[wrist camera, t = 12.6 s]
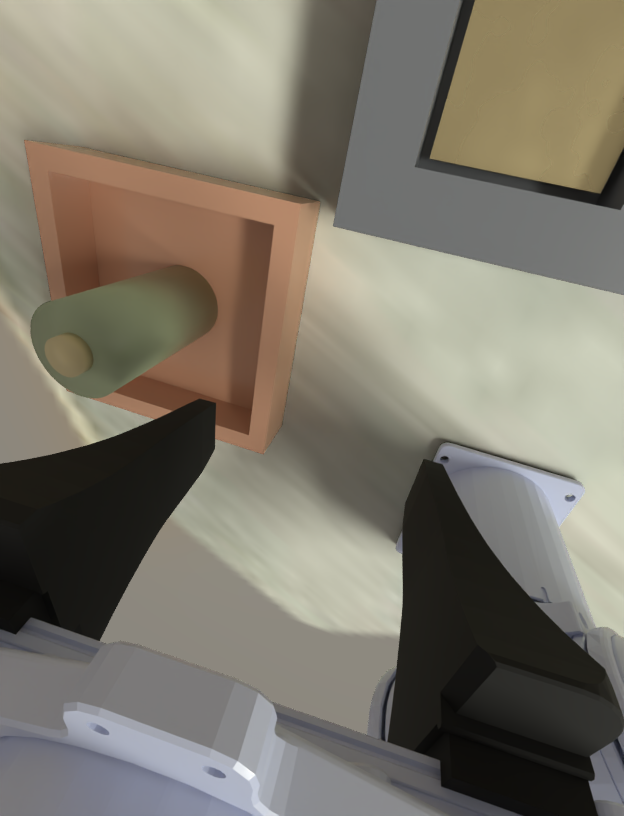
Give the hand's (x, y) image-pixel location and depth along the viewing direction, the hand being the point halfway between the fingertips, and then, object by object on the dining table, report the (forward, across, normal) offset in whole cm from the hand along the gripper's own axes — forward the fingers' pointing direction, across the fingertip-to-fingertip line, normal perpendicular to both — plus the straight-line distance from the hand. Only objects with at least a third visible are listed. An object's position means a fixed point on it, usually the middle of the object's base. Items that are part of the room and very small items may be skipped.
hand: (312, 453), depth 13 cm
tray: (+10, +10, 0) cm, 14 cm away
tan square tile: (+9, -4, -12) cm, 15 cm away
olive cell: (+9, +10, 0) cm, 14 cm away
